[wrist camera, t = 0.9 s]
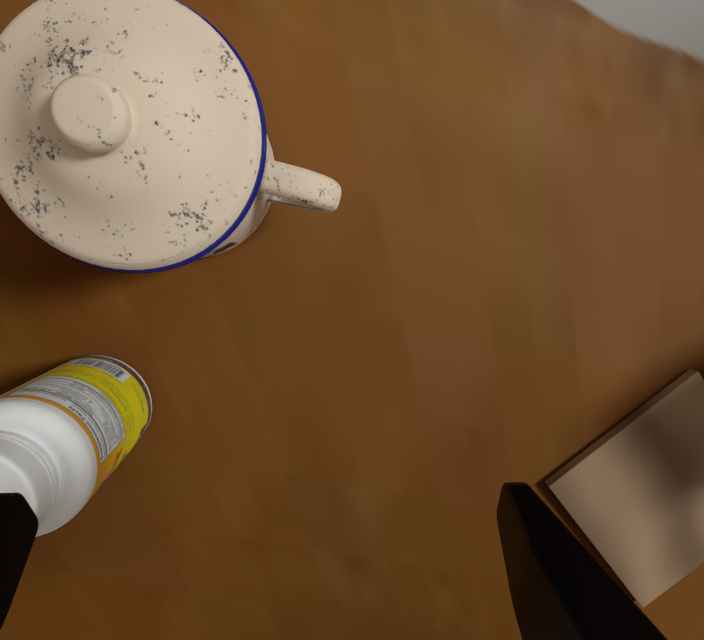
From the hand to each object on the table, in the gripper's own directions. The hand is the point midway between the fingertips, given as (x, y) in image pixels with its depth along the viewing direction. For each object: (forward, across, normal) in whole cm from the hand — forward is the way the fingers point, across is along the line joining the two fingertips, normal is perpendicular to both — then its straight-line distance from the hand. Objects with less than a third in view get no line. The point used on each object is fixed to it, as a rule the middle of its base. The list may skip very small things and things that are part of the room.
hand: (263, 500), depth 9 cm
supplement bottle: (+14, +12, +10) cm, 21 cm away
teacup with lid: (+19, +5, 0) cm, 19 cm away
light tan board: (+13, -20, +18) cm, 30 cm away
